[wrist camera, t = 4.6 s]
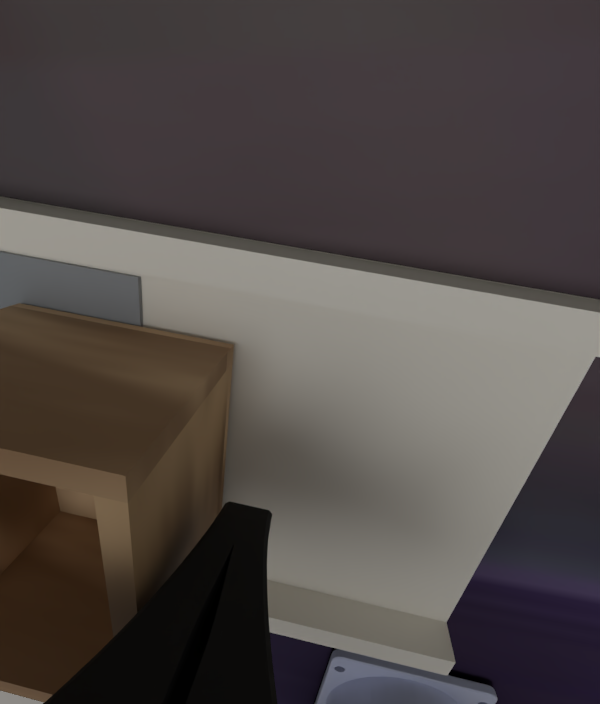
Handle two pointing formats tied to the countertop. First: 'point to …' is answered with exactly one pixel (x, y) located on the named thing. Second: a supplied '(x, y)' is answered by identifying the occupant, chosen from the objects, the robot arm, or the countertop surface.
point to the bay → (339, 404)
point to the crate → (98, 479)
